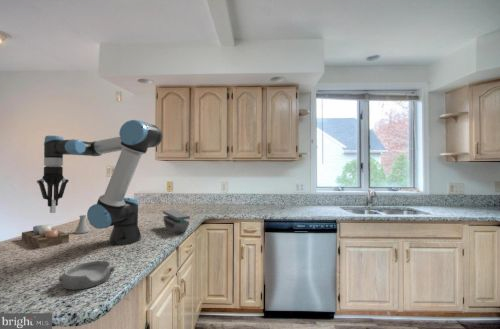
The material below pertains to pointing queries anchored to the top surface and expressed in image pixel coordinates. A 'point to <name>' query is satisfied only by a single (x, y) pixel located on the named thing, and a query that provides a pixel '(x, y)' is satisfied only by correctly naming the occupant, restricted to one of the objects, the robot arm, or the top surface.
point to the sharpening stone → (175, 221)
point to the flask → (82, 225)
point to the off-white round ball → (44, 229)
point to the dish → (86, 274)
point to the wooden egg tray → (44, 239)
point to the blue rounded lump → (36, 229)
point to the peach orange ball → (51, 233)
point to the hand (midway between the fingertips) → (52, 212)
